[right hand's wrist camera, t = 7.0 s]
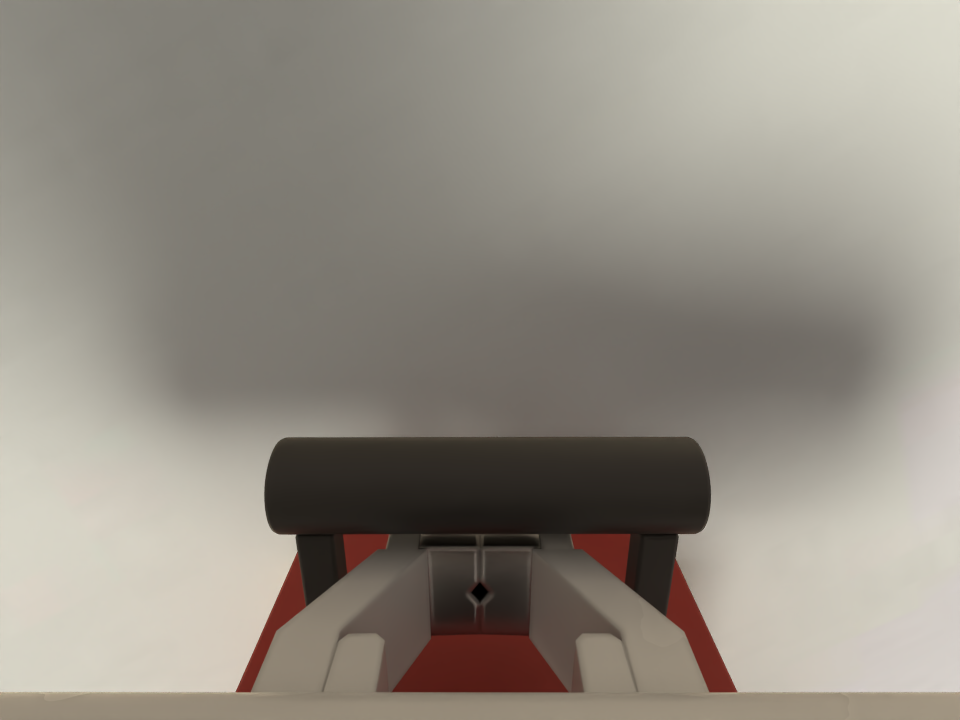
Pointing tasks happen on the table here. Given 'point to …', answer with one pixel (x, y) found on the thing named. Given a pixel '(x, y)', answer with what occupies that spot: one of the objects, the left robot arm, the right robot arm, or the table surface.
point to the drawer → (491, 529)
